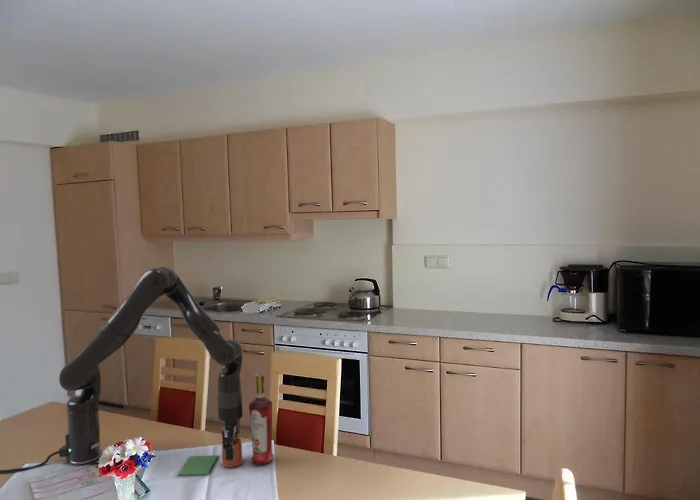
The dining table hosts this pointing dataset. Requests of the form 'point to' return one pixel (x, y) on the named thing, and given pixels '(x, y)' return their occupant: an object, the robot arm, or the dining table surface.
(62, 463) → the dining table surface
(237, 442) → the flower pot
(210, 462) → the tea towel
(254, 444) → the liquor
